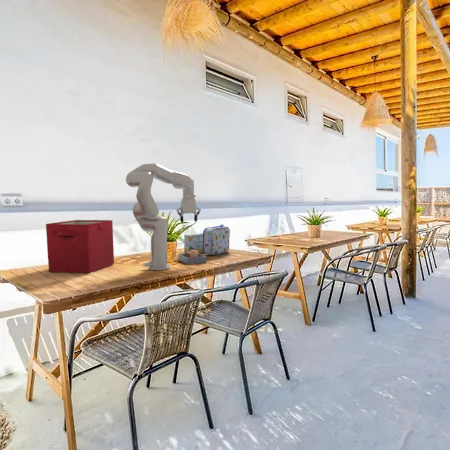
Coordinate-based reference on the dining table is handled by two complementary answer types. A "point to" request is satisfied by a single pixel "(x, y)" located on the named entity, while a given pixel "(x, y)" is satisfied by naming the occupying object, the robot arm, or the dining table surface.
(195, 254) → the terracotta cylinder
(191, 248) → the snack box
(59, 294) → the dining table surface
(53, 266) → the storage cube
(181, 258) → the tote
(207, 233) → the lunch box
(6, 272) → the dining table surface
